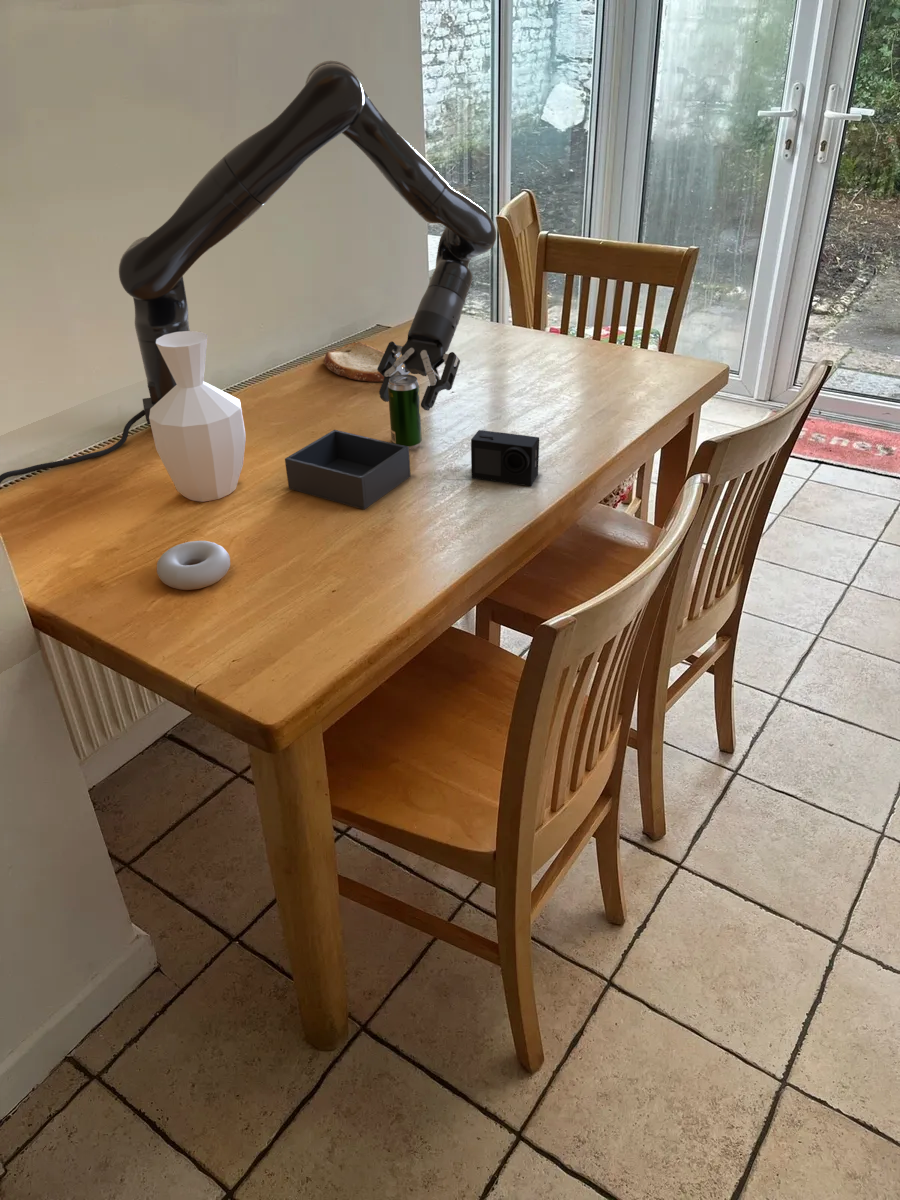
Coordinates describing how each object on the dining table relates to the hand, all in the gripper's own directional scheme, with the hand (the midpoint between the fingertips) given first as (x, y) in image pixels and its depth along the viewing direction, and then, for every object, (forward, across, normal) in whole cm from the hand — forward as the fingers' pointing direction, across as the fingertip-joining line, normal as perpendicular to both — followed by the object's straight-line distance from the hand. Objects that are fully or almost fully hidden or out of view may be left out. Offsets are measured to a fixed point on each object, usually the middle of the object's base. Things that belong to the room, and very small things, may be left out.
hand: (403, 404), depth 155 cm
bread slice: (-15, -30, +26) cm, 43 cm away
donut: (+41, -2, -30) cm, 51 cm away
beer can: (+5, 0, +6) cm, 8 cm away
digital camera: (+8, +22, +3) cm, 23 cm away
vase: (+27, -19, -16) cm, 36 cm away
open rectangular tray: (+17, 0, -6) cm, 18 cm away
